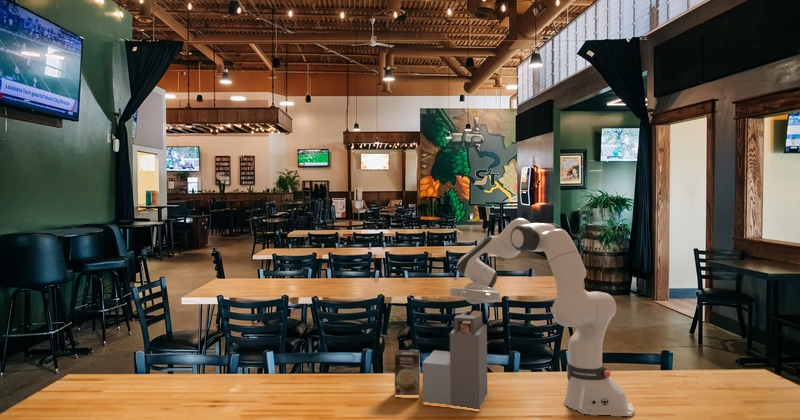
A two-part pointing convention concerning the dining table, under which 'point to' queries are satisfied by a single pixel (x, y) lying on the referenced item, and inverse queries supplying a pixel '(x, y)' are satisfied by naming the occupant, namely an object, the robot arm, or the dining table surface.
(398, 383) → the coffee box
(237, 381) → the dining table surface
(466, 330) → the bar
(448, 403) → the stepped stand
